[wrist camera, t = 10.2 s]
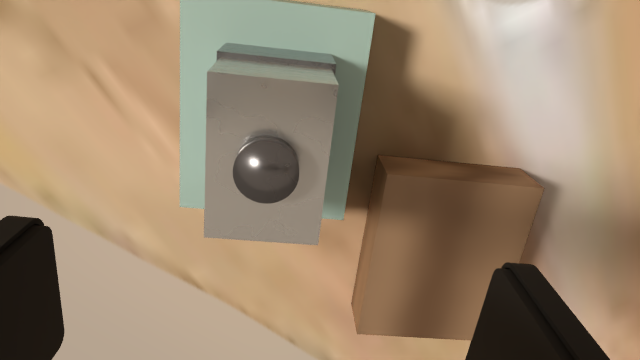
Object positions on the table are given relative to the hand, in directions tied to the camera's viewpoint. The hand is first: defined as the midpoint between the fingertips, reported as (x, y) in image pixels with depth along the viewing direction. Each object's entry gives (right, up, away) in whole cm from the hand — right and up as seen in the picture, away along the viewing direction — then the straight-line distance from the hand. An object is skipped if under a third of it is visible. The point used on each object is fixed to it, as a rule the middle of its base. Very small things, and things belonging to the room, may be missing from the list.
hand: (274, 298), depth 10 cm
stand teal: (-2, +7, +16) cm, 18 cm away
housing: (-1, +6, +13) cm, 15 cm away
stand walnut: (+8, -1, +20) cm, 22 cm away
